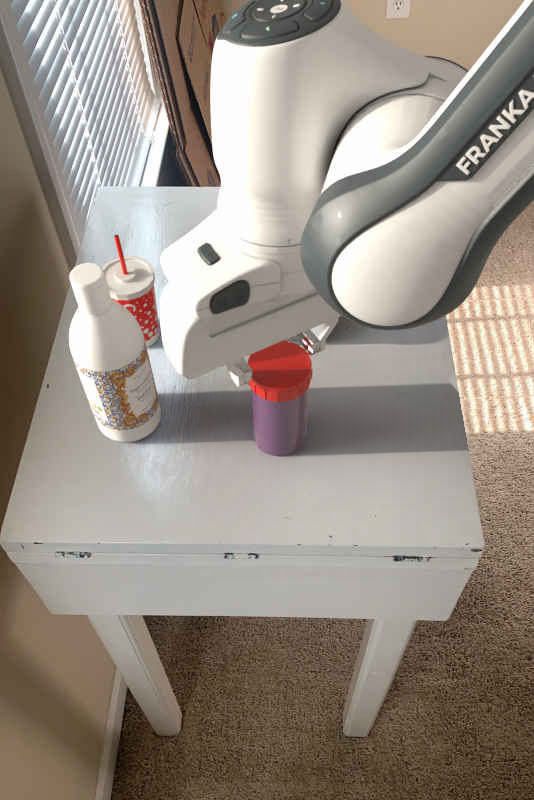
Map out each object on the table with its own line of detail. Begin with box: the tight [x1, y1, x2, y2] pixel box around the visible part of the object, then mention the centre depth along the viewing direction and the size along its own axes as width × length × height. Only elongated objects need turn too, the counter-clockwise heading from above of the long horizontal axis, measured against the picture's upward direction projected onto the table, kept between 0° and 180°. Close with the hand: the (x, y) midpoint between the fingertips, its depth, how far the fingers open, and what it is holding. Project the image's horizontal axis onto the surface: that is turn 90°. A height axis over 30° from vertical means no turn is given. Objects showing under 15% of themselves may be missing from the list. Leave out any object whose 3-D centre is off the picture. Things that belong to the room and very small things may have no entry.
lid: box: [247, 340, 313, 402], centre depth 64 cm, size 6×6×2 cm
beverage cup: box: [101, 234, 161, 348], centre depth 75 cm, size 6×6×14 cm
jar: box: [250, 387, 310, 457], centre depth 69 cm, size 6×6×11 cm
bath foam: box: [68, 262, 162, 443], centre depth 66 cm, size 7×7×20 cm
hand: (277, 364), depth 64 cm, fingers open, 6 cm apart
